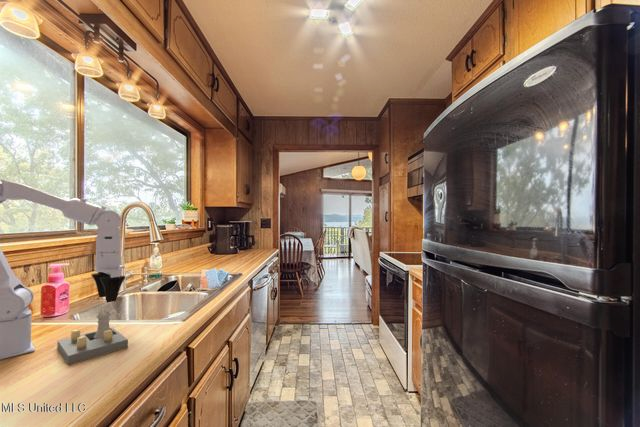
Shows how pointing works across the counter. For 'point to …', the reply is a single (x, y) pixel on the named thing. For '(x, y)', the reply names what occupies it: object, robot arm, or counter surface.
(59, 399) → the counter surface
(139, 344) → the counter surface
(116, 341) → the pin board
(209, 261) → the counter surface
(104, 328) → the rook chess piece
